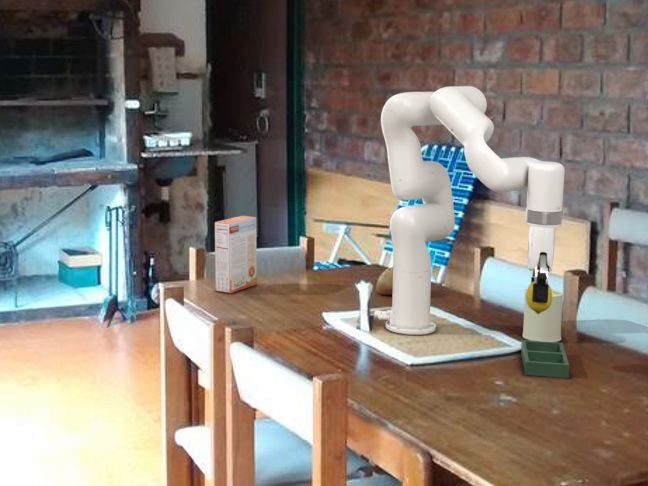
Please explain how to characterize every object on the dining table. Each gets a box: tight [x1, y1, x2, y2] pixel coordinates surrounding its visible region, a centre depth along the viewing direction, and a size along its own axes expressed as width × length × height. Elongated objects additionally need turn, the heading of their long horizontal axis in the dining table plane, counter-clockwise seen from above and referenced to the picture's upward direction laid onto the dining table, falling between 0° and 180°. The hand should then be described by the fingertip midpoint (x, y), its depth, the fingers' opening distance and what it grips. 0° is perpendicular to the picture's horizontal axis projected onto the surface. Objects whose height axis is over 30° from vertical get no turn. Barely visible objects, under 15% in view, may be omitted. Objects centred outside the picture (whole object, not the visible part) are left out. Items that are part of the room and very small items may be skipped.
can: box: [522, 288, 564, 343], centre depth 250 cm, size 9×9×12 cm
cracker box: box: [214, 215, 258, 294], centre depth 300 cm, size 14×6×21 cm, turn 144°
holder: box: [520, 339, 570, 379], centre depth 228 cm, size 9×17×3 cm, turn 167°
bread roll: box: [375, 266, 393, 296], centre depth 295 cm, size 10×15×8 cm, turn 113°
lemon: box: [526, 281, 552, 314], centre depth 224 cm, size 6×6×8 cm
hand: (538, 297), depth 224 cm, fingers closed on lemon, 5 cm apart
